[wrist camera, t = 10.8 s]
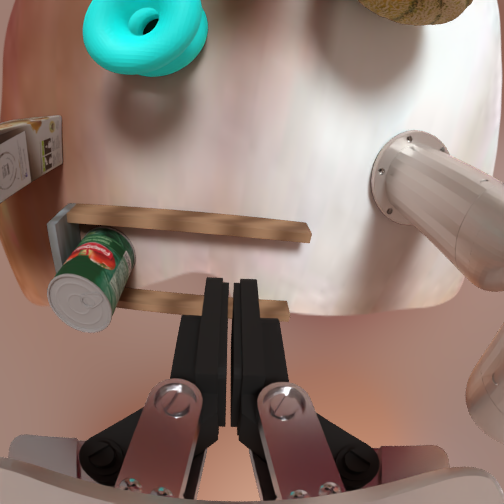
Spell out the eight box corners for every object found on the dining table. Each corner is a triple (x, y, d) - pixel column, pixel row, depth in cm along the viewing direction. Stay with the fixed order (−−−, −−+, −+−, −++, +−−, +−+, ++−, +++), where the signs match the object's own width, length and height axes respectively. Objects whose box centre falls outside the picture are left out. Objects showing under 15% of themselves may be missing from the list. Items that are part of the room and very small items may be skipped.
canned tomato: (102, 284, 40) (75, 339, 31) (72, 239, 36) (34, 288, 27) (146, 266, 39) (125, 324, 30) (116, 216, 35) (81, 264, 26)
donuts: (95, -34, 13) (214, -34, 15) (129, -7, 22) (218, -1, 23) (66, 73, 18) (182, 80, 20) (109, 74, 26) (197, 82, 28)
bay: (306, 222, 37) (318, 247, 32) (285, 307, 44) (291, 337, 39) (68, 203, 34) (46, 223, 28) (82, 288, 40) (67, 315, 35)
